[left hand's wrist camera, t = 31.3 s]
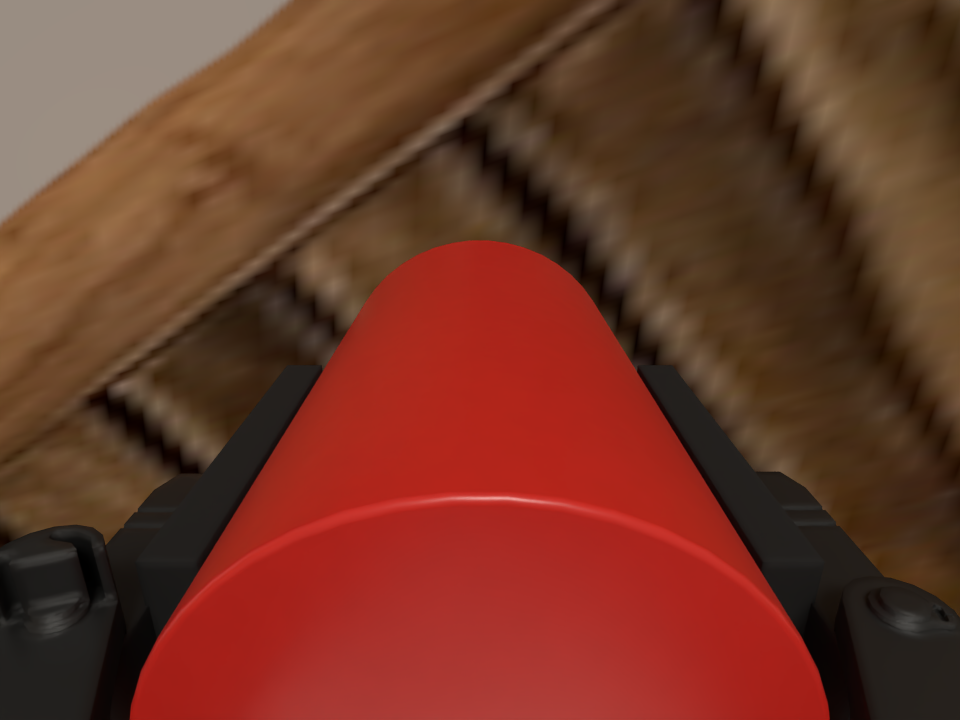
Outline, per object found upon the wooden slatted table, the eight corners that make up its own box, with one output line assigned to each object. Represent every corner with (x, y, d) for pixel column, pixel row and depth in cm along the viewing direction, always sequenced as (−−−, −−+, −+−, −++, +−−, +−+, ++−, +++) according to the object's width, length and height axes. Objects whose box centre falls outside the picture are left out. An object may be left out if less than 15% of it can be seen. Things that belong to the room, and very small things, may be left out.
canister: (512, 521, 18) (555, 1053, 8) (303, 402, 17) (21, 858, 7) (663, 335, 16) (993, 724, 6) (439, 183, 15) (345, 336, 4)
